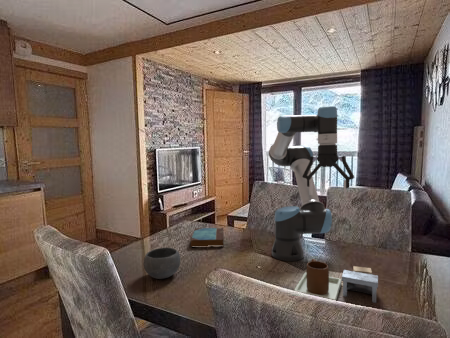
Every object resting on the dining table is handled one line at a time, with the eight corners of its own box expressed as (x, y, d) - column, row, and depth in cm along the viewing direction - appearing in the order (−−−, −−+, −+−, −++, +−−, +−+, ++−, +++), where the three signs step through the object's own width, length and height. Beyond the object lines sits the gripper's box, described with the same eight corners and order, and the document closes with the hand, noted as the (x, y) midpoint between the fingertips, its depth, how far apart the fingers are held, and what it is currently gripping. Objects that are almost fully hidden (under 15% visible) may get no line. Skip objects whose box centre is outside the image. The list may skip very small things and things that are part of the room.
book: (223, 248, 151) (223, 239, 151) (190, 249, 151) (190, 240, 151) (223, 235, 174) (223, 227, 174) (194, 236, 174) (194, 228, 173)
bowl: (163, 287, 108) (162, 262, 108) (136, 279, 116) (135, 255, 116) (188, 272, 121) (187, 249, 120) (162, 265, 129) (161, 244, 128)
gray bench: (341, 295, 99) (341, 276, 98) (344, 285, 106) (344, 267, 106) (377, 303, 93) (377, 282, 93) (378, 291, 101) (378, 272, 100)
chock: (353, 286, 106) (353, 270, 105) (353, 281, 109) (353, 266, 109) (371, 288, 103) (371, 272, 103) (370, 283, 107) (370, 268, 107)
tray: (293, 296, 99) (293, 290, 99) (305, 276, 114) (305, 272, 114) (335, 305, 93) (335, 299, 93) (341, 283, 107) (341, 278, 107)
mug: (303, 279, 110) (302, 256, 110) (323, 280, 109) (323, 256, 109) (308, 295, 98) (308, 269, 98) (331, 296, 97) (331, 269, 97)
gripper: (295, 145, 120) (295, 195, 121) (360, 143, 108) (359, 198, 109) (299, 145, 127) (300, 192, 128) (361, 143, 114) (361, 195, 116)
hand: (327, 195), depth 119 cm, fingers open, 13 cm apart
